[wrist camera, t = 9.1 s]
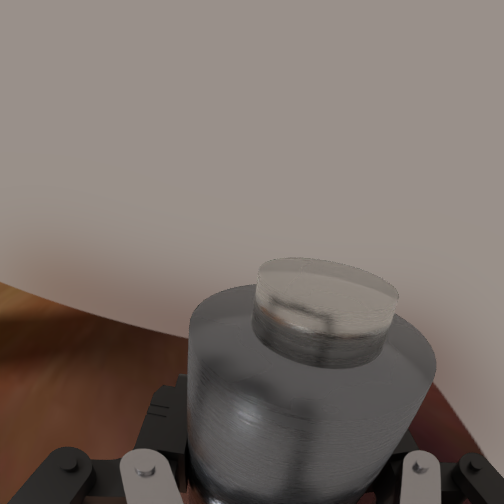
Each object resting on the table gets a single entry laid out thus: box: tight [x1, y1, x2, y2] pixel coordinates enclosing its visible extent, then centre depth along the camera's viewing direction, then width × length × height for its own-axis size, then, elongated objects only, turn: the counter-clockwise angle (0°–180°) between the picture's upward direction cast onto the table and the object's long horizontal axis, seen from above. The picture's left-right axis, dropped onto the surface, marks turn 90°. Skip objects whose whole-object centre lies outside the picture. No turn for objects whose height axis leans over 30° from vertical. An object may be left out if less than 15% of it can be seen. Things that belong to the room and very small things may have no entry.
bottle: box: [187, 258, 436, 504], centre depth 8 cm, size 6×6×13 cm
